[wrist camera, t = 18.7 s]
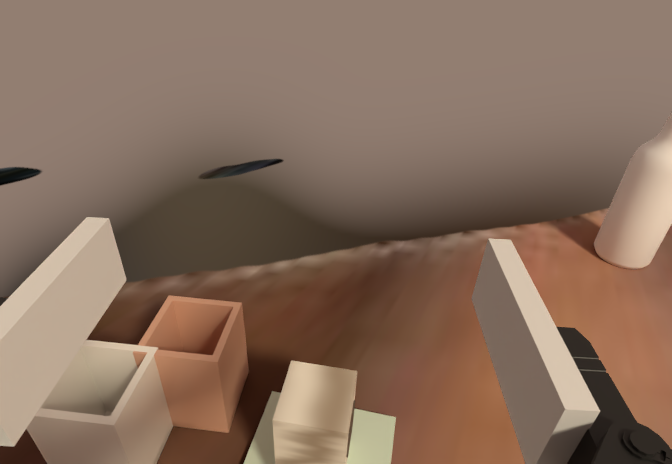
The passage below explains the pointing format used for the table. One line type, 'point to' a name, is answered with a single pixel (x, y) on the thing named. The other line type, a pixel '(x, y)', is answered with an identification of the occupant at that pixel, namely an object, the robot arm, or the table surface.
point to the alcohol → (640, 206)
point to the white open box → (104, 409)
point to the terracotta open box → (199, 360)
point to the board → (365, 446)
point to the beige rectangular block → (314, 415)
